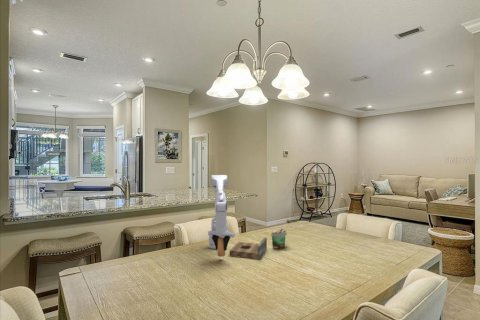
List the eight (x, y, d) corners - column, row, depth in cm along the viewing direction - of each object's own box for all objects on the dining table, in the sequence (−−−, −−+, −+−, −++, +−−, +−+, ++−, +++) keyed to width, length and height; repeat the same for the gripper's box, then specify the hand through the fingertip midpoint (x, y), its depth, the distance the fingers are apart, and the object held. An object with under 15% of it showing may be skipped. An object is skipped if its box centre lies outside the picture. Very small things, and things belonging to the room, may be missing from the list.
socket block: (229, 255, 146) (229, 243, 146) (238, 246, 161) (238, 235, 161) (260, 259, 141) (260, 246, 141) (266, 249, 156) (266, 237, 156)
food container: (280, 251, 153) (280, 234, 153) (271, 249, 156) (271, 232, 156) (290, 246, 162) (290, 229, 162) (281, 244, 166) (281, 228, 166)
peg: (216, 256, 139) (216, 239, 139) (219, 253, 143) (219, 236, 143) (223, 256, 138) (223, 239, 138) (226, 254, 141) (226, 237, 141)
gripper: (205, 224, 139) (205, 250, 139) (231, 227, 134) (231, 253, 134) (211, 221, 145) (211, 246, 145) (235, 223, 141) (236, 249, 141)
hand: (221, 249), depth 140 cm, fingers closed on peg, 4 cm apart
